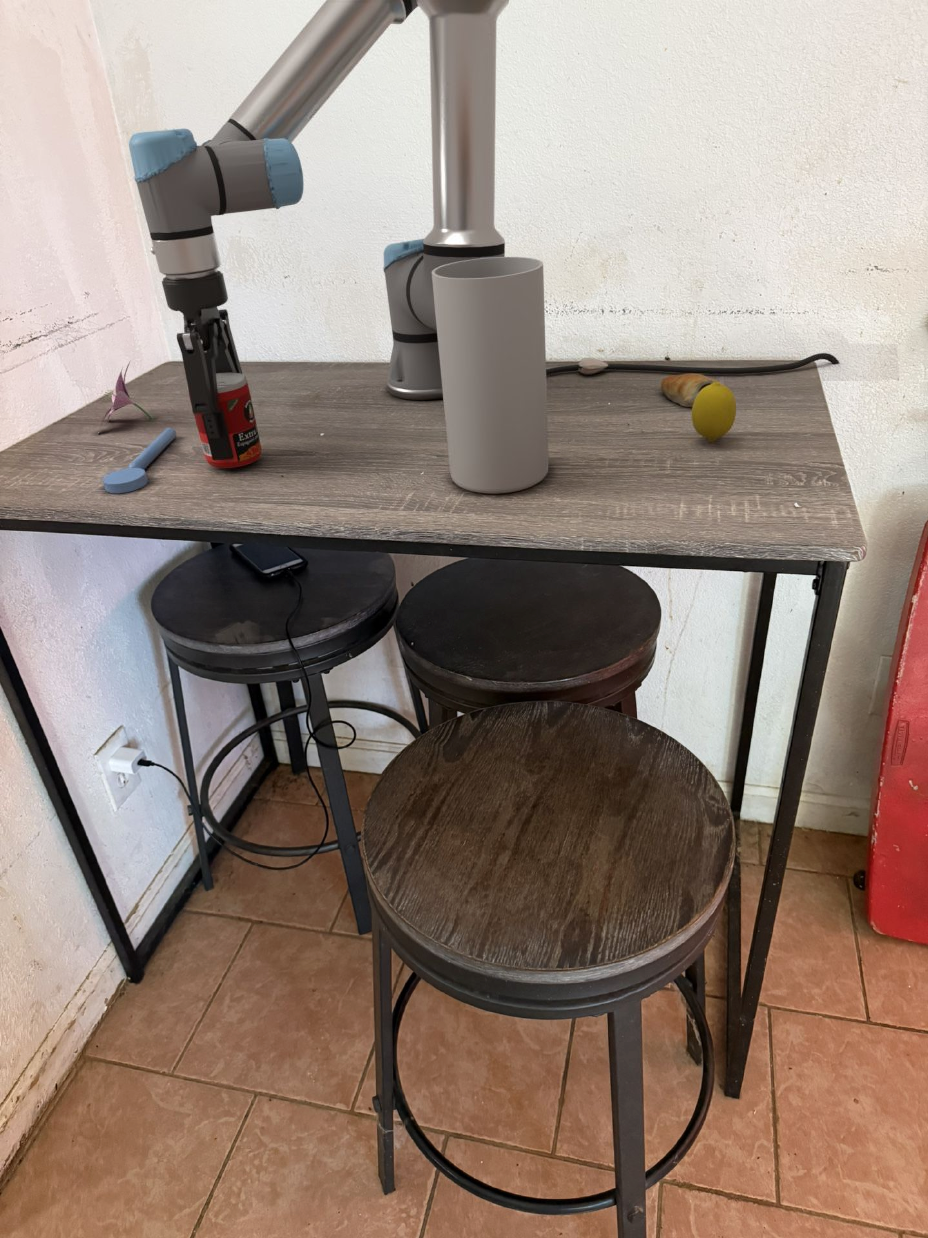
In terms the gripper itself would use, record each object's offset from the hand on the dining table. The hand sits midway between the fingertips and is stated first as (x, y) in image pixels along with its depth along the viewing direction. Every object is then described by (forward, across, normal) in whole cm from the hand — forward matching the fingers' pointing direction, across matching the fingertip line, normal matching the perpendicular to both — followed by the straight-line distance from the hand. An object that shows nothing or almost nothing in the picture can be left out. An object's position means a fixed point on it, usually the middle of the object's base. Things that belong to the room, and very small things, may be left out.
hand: (232, 447), depth 117 cm
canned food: (+2, 0, 0) cm, 2 cm away
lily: (+3, -21, -25) cm, 33 cm away
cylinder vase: (+3, +9, +37) cm, 38 cm away
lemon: (+3, +1, +65) cm, 65 cm away
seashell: (+3, -33, +52) cm, 62 cm away
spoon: (+3, -2, -14) cm, 14 cm away
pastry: (+3, -17, +65) cm, 67 cm away
